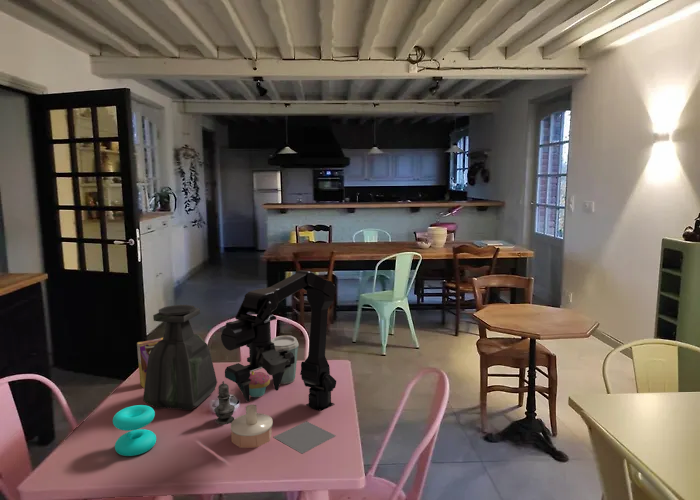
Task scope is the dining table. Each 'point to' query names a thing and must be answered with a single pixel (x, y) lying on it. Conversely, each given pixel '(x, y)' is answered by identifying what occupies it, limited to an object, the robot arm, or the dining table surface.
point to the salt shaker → (224, 406)
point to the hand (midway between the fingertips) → (262, 395)
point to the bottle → (179, 363)
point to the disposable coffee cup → (291, 346)
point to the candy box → (145, 357)
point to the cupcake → (258, 384)
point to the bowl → (251, 439)
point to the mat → (304, 437)
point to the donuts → (134, 430)
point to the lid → (251, 423)
